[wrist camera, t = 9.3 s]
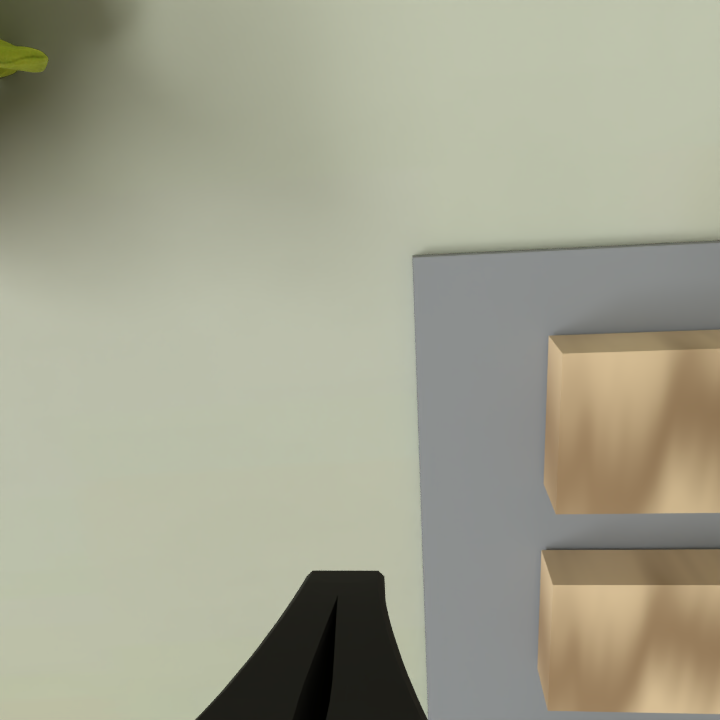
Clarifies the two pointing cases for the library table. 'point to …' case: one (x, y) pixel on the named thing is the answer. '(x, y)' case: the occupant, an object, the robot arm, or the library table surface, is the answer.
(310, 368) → the library table surface
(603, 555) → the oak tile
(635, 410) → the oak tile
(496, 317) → the felt mat
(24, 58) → the bird rattle
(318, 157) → the library table surface
